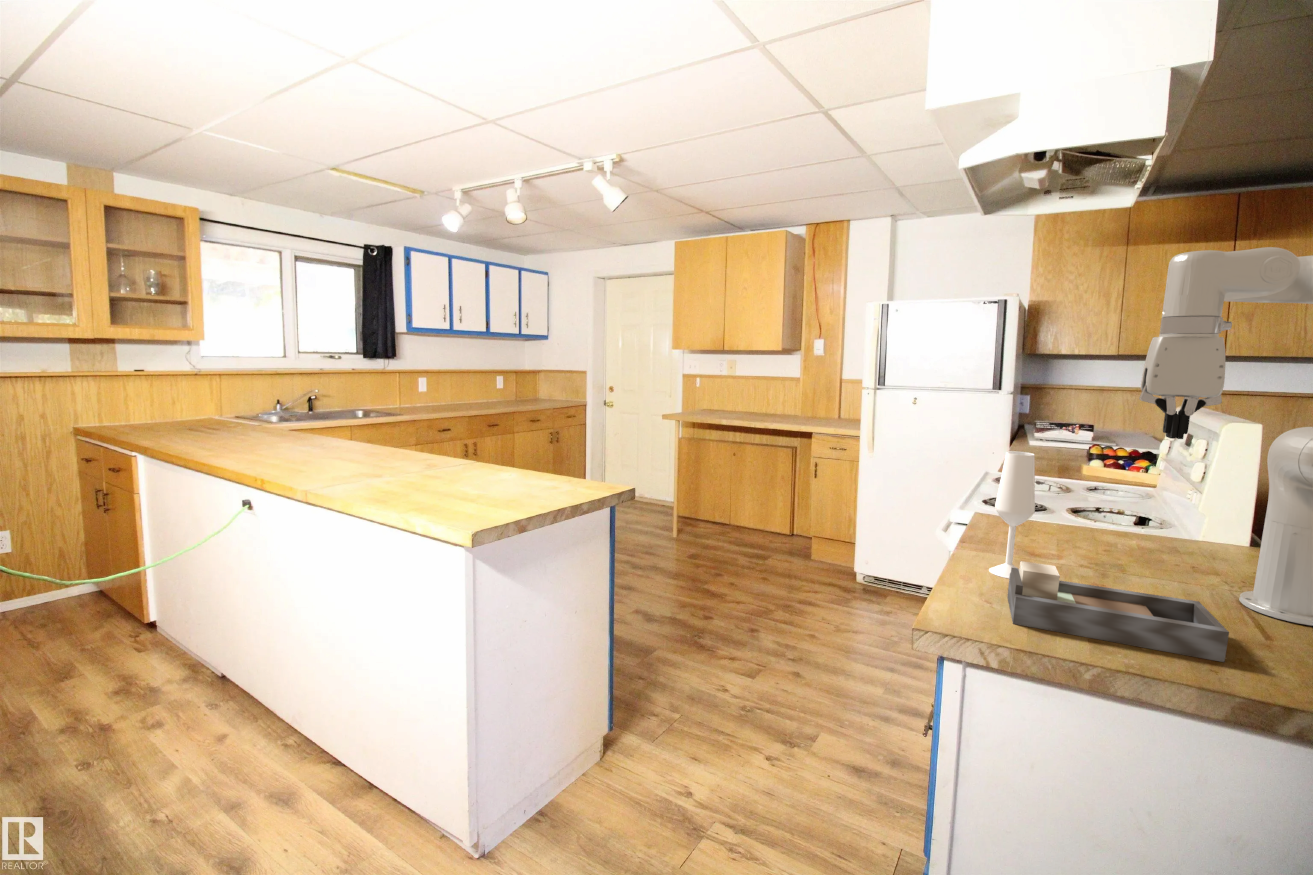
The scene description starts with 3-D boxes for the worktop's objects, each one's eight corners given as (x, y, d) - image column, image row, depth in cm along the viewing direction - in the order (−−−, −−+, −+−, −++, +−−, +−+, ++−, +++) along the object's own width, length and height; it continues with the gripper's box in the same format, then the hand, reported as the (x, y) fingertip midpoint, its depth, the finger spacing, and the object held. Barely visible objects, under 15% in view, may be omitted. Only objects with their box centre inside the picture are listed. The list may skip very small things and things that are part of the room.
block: (1051, 594, 102) (1055, 565, 101) (1056, 605, 97) (1059, 575, 97) (1017, 589, 104) (1020, 561, 103) (1020, 599, 99) (1023, 570, 99)
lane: (1194, 628, 97) (1200, 592, 96) (1224, 662, 86) (1230, 622, 85) (1007, 597, 108) (1010, 564, 107) (1012, 623, 97) (1016, 587, 96)
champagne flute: (992, 564, 125) (1003, 449, 121) (1030, 572, 120) (1043, 453, 117) (985, 573, 120) (996, 453, 116) (1024, 582, 115) (1037, 457, 112)
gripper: (1238, 329, 101) (1222, 438, 104) (1128, 329, 108) (1115, 432, 110) (1258, 327, 94) (1240, 444, 97) (1139, 328, 101) (1125, 437, 104)
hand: (1174, 437), depth 104 cm, fingers closed
